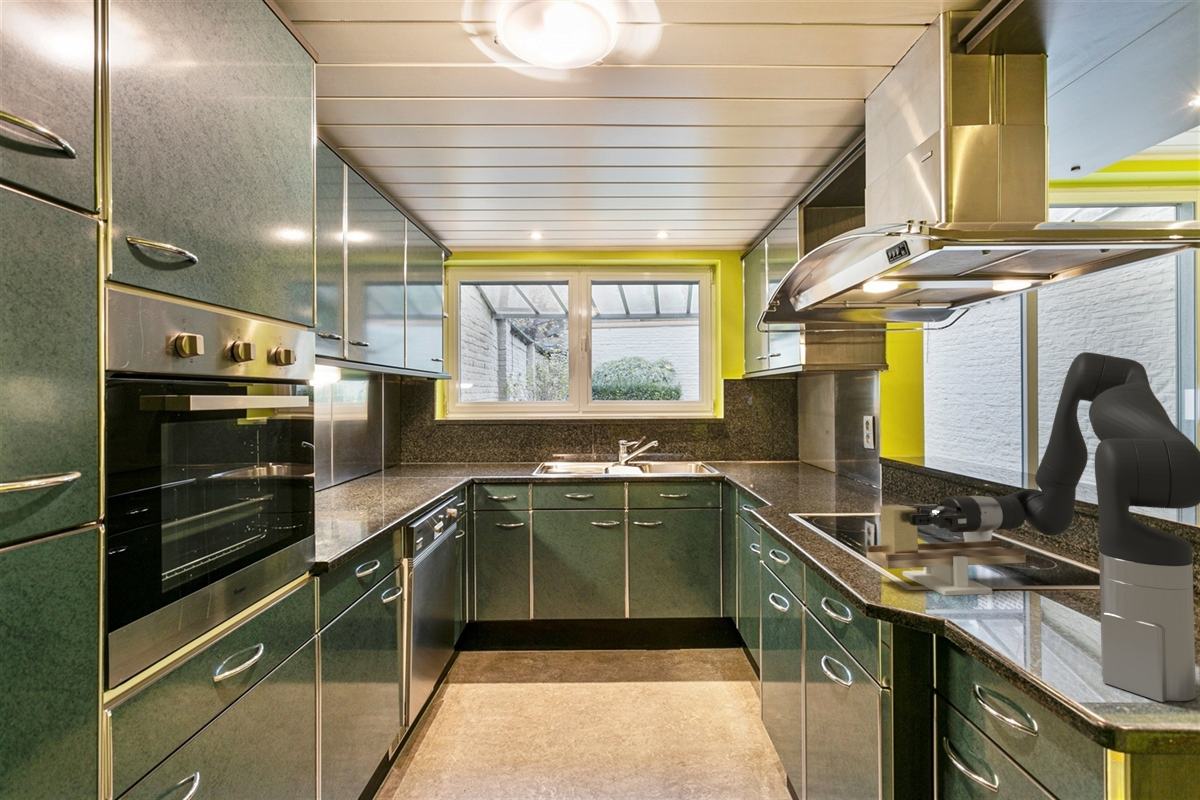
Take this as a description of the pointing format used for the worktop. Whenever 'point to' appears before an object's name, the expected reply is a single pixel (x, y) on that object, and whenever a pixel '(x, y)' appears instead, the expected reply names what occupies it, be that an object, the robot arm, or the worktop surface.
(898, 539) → the block
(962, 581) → the beam stand
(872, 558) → the balance beam
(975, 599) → the worktop surface
